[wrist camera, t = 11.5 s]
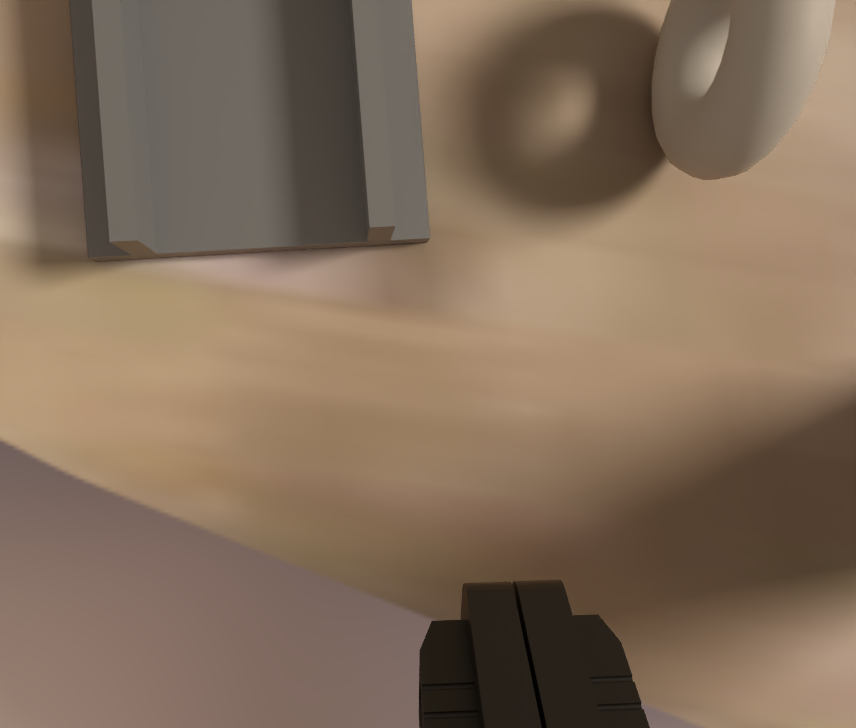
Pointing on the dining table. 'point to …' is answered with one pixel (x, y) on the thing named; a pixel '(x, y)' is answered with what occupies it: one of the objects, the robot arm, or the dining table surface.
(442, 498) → the dining table surface
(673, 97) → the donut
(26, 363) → the dining table surface
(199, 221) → the bay
